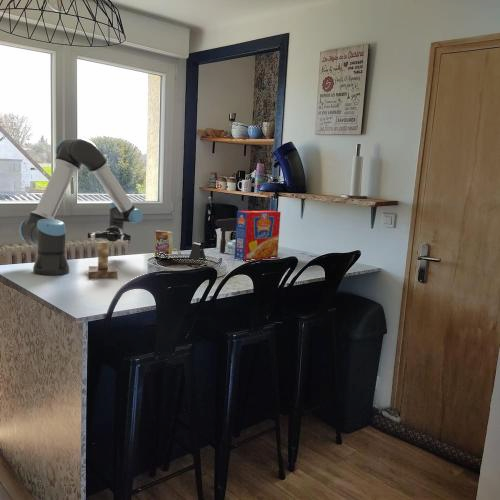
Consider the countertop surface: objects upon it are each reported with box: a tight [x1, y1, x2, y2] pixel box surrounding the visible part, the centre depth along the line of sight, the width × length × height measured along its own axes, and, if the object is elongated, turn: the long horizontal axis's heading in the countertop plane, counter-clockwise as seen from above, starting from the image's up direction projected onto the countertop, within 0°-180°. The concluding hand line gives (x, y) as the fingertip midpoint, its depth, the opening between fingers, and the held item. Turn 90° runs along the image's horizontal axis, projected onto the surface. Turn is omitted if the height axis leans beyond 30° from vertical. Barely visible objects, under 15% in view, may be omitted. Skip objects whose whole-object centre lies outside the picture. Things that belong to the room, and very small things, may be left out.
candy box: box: [154, 230, 174, 257], centre depth 269 cm, size 9×4×15 cm, turn 72°
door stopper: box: [188, 241, 207, 260], centre depth 256 cm, size 9×6×12 cm, turn 135°
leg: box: [97, 241, 110, 270], centre depth 219 cm, size 5×5×15 cm
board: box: [88, 265, 118, 279], centre depth 220 cm, size 12×12×3 cm
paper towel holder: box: [214, 217, 237, 254], centre depth 309 cm, size 16×21×33 cm
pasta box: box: [233, 210, 282, 262], centre depth 287 cm, size 28×8×28 cm, turn 134°
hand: (106, 238), depth 229 cm, fingers open, 13 cm apart
